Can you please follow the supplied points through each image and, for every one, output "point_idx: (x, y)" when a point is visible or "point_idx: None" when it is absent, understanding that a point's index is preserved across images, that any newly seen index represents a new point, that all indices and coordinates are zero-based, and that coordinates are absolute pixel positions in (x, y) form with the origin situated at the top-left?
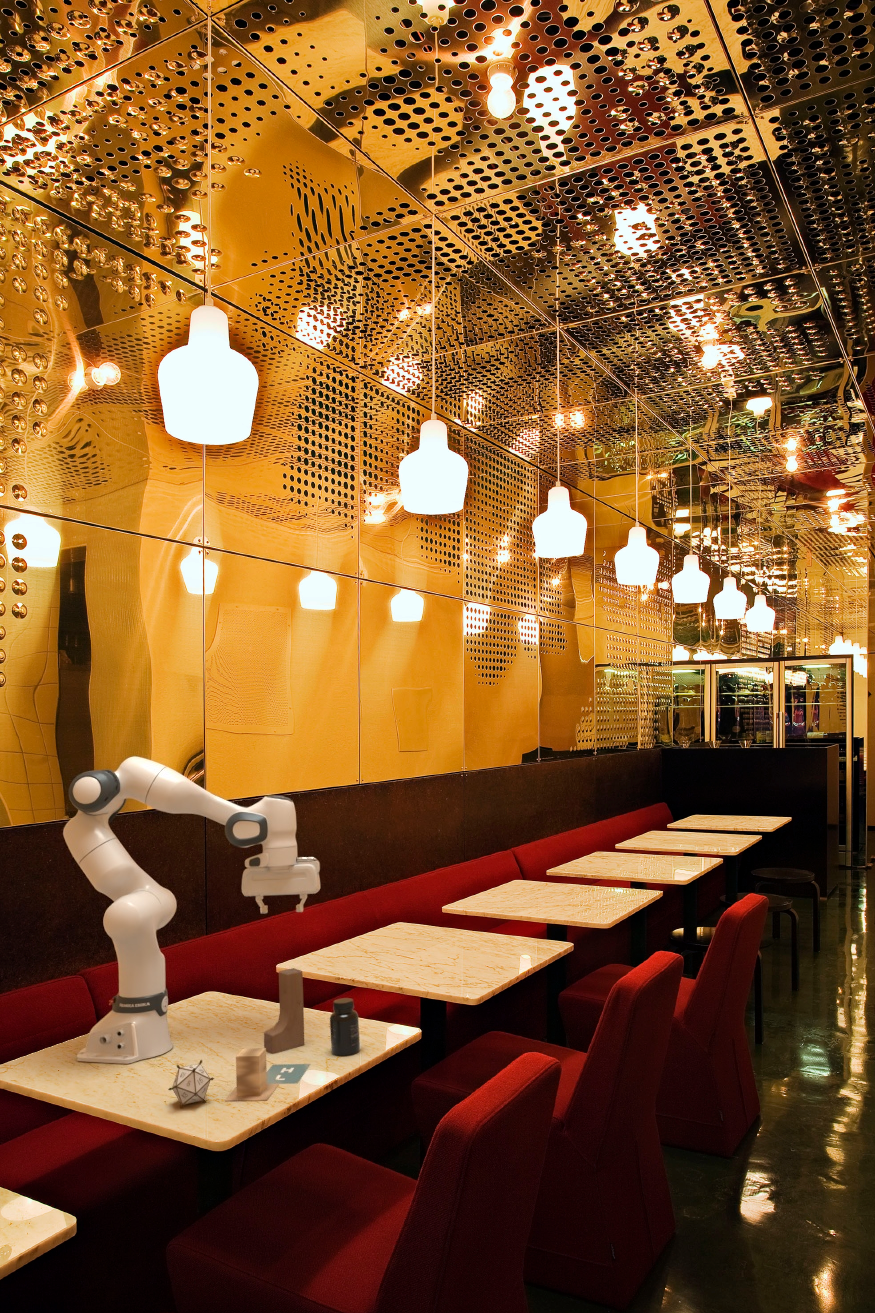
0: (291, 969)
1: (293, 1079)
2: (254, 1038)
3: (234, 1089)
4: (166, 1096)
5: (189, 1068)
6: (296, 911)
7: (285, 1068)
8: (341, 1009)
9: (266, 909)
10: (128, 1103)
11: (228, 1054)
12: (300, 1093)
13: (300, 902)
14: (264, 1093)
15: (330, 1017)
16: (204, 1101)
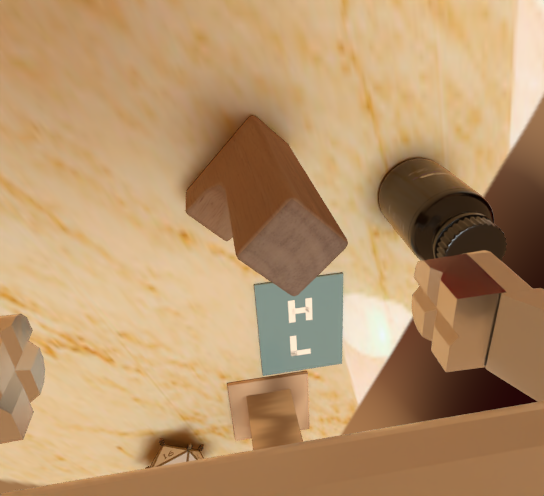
0: (291, 232)
1: (328, 350)
2: (92, 76)
3: (231, 405)
4: (106, 434)
5: None
6: (418, 322)
7: (293, 303)
8: None
9: (10, 361)
10: (53, 464)
11: (92, 222)
12: (356, 391)
13: (527, 394)
14: (296, 411)
15: (415, 251)
16: (201, 449)
